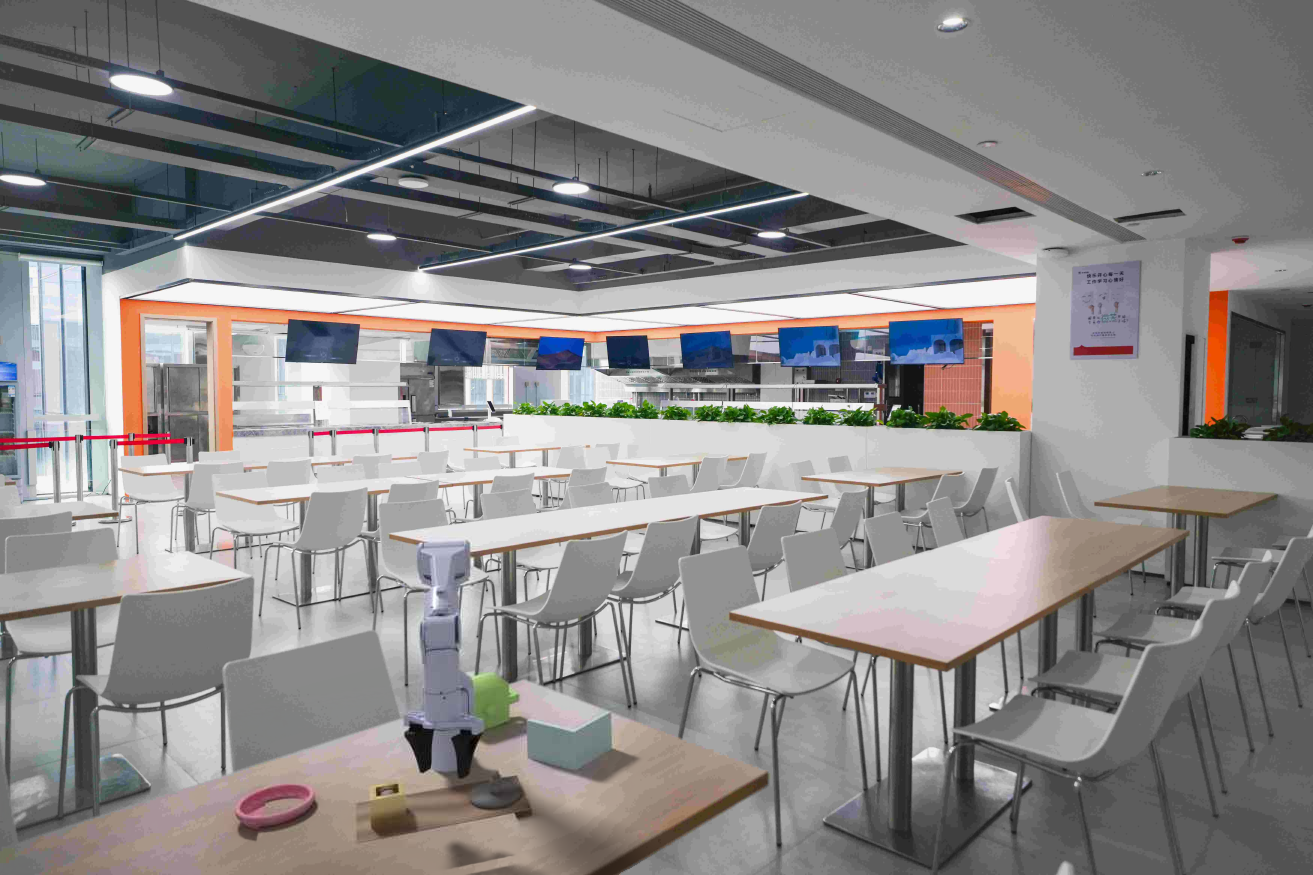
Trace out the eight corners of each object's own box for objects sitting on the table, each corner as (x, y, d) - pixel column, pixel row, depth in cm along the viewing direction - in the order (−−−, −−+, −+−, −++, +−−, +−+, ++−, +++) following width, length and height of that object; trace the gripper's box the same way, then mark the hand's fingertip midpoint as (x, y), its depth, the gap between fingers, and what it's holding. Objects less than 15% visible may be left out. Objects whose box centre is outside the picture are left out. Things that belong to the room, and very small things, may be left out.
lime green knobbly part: (451, 745, 169) (449, 701, 168) (430, 730, 176) (428, 687, 175) (525, 720, 180) (524, 679, 180) (502, 707, 188) (502, 667, 187)
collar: (370, 811, 138) (369, 785, 138) (404, 805, 140) (403, 779, 140) (370, 827, 133) (369, 800, 132) (406, 820, 135) (405, 793, 134)
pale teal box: (611, 748, 164) (611, 711, 164) (575, 770, 154) (574, 731, 154) (565, 736, 171) (564, 701, 171) (527, 757, 161) (526, 720, 161)
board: (356, 808, 141) (355, 779, 141) (516, 780, 151) (516, 752, 151) (356, 848, 128) (355, 816, 128) (532, 814, 138) (531, 784, 137)
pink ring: (235, 842, 131) (234, 823, 131) (235, 810, 142) (235, 792, 142) (318, 823, 137) (317, 805, 137) (312, 793, 148) (311, 776, 148)
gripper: (389, 692, 131) (392, 777, 131) (464, 700, 126) (466, 788, 125) (418, 681, 138) (420, 761, 137) (490, 687, 132) (492, 771, 132)
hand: (444, 773), depth 132 cm, fingers open, 7 cm apart
